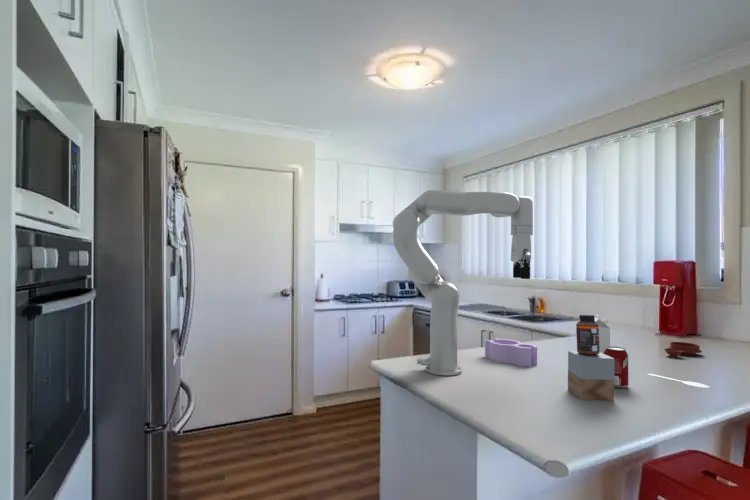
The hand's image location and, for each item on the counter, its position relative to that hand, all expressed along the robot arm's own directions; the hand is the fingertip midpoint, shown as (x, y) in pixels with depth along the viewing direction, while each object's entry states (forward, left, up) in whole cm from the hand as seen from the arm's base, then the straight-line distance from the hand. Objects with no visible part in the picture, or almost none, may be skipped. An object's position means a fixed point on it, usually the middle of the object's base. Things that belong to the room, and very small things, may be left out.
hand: (521, 278), depth 148 cm
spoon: (+49, -8, -34) cm, 60 cm away
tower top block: (+12, -26, -27) cm, 40 cm away
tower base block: (+12, -26, -33) cm, 44 cm away
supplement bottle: (+12, -26, -21) cm, 36 cm away
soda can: (+25, -16, -33) cm, 45 cm away
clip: (+1, +15, -34) cm, 37 cm away
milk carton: (+32, +10, -33) cm, 47 cm away
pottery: (+77, +32, -34) cm, 89 cm away
